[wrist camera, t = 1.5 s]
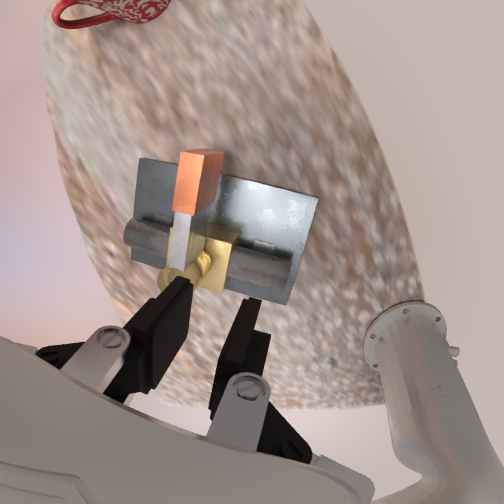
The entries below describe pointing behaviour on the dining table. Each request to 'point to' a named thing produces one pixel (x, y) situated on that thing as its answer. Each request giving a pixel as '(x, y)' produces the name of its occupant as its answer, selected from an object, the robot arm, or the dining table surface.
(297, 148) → the dining table surface
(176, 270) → the lever
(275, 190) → the valve
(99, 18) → the mug
